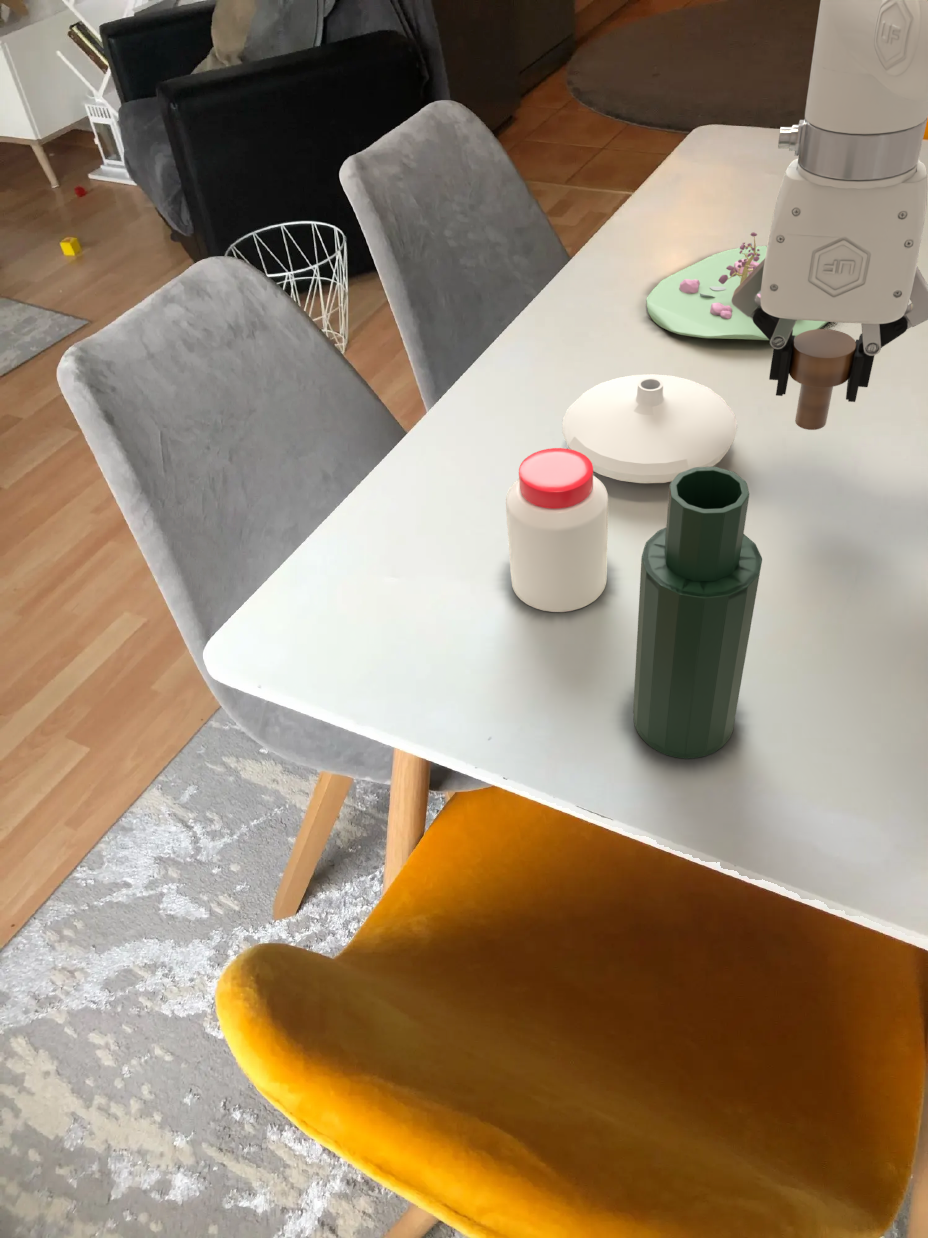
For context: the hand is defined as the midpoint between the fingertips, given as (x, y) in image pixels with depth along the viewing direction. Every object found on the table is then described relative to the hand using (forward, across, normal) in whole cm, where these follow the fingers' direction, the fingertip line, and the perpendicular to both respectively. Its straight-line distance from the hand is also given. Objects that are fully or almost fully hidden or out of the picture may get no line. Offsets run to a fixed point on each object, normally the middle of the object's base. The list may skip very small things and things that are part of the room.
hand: (816, 387), depth 76 cm
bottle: (+11, -5, -27) cm, 30 cm away
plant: (+10, -9, +36) cm, 38 cm away
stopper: (+3, 0, 0) cm, 3 cm away
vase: (+10, -14, +4) cm, 18 cm away
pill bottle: (+11, -17, -15) cm, 25 cm away
